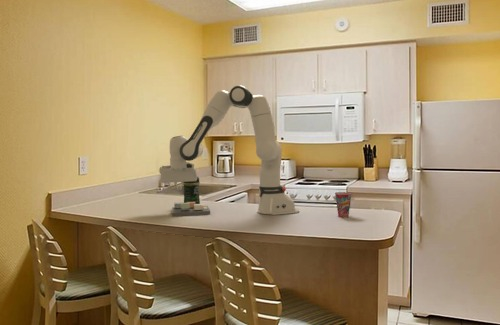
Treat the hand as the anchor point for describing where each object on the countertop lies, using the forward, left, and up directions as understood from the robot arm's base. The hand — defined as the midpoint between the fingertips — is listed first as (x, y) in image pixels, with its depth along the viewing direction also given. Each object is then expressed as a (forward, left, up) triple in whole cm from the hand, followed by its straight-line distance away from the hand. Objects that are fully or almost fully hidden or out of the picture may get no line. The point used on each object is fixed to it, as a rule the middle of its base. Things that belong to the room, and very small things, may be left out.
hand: (179, 190), depth 246 cm
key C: (-6, 0, -10) cm, 12 cm away
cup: (-81, +38, -13) cm, 91 cm away
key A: (-10, +9, -10) cm, 17 cm away
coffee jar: (-7, -12, -13) cm, 19 cm away
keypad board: (-6, +4, -12) cm, 14 cm away
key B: (-3, +9, -9) cm, 13 cm away
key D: (+1, 0, -10) cm, 10 cm away
